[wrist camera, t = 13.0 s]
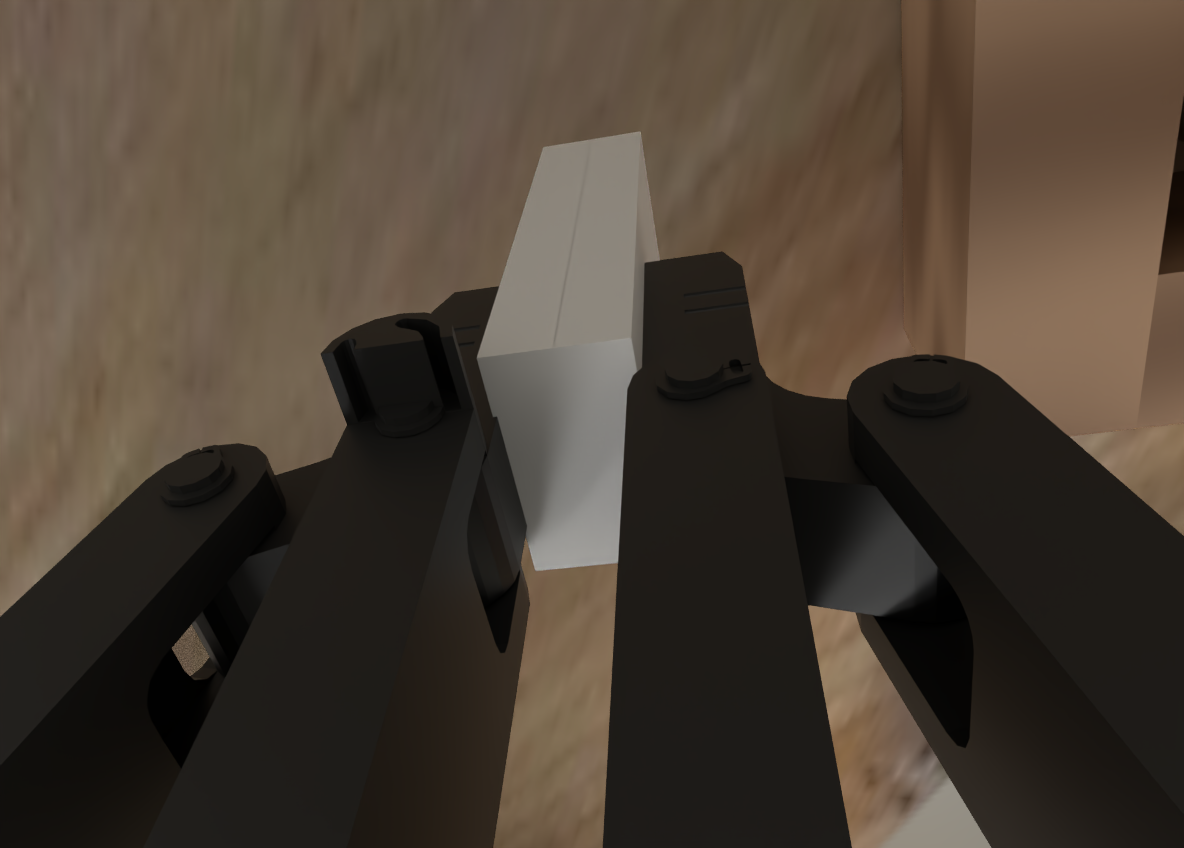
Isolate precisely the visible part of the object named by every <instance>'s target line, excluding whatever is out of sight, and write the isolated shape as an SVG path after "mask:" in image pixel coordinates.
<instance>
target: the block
mask: <svg viewBox="0 0 1184 848" xmlns="http://www.w3.org/2000/svg"><path fill="white" fill-rule="evenodd" d="M901 26H902V160H903V294H904V330H905V332H906V334H907V336H908V338H909V340H910V342H911V344H912V347H913V349H914V351H915V353H916V355H921V354H930V355H932V356H934V354H936V355H946V356H951V357H955V358H959V359H963V360H967V361H971V362H975V363H978V364H980V365H981V366H983V367H985V368H987V369H988V370H990V371H992V372H994V373H995V374H997V375H999V376H1000V377H1001V378H1002V379H1003V380H1004V381H1005V382H1007V383H1008V384H1009V385H1010V386H1011V387H1012V388H1013V389H1015V390H1016V391H1017V392H1018V393H1019V394H1020V395H1022V396H1023V397H1024V398H1025V399H1026V400H1027V401H1028V402H1030V403H1031V404H1032V405H1033V406H1034V407H1035V408H1037V409H1038V410H1039V411H1040V412H1041V413H1042V414H1043V415H1045V416H1046V417H1047V418H1048V419H1049V420H1050V421H1052V422H1053V423H1054V424H1055V425H1056V426H1057V427H1058V428H1060V429H1061V430H1062V431H1063V432H1064V433H1065V434H1067V435H1068V436H1077V435H1085V434H1094V433H1103V432H1112V431H1121V430H1129V429H1138V428H1147V427H1156V426H1165V425H1173V424H1182V423H1184V142H1182V141H1180V140H1179V139H1178V132H1179V125H1180V118H1181V111H1182V104H1183V97H1184V0H901Z"/></svg>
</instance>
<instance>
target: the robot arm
mask: <svg viewBox="0 0 1184 848" xmlns="http://www.w3.org/2000/svg"><path fill="white" fill-rule="evenodd" d="M321 356H322V359H323V362H324V364H325V367H326V370H327V372H328V375H329V378H330V380H331V383H332V386H333V388H334V391H335V394H336V396H337V399H338V402H339V404H340V407H341V410H342V412H343V415H344V418H345V420H346V423H347V426H346V428H345V431H344V433H343V435H342V437H341V439H340V441H339V443H338V445H337V447H336V449H335V451H334V453H333V455H332V457H331V458H329V459H326V460H323V461H320V462H318V463H314V464H311V465H308V466H305V467H301V468H298V469H295V470H292V471H288V472H285V473H282V474H279V475H274V473H273V470H272V468H271V466H270V463H269V461H268V459H267V457H266V455H265V454H264V453H263V452H261V451H260V450H259V449H258V448H257V447H254V446H249V445H244V444H239V443H238V444H228V445H213V446H208V447H204V448H203V449H202V450H200V449H197V450H194V451H191V452H188V453H186V454H185V455H183V456H182V457H181V458H180V459H178V460H176V461H174V462H172V463H170V464H168V465H166V466H164V467H163V468H162V469H160V470H159V471H158V472H156V473H155V474H154V475H152V476H151V477H150V478H148V479H147V480H146V481H145V482H144V483H142V484H141V485H140V486H139V487H138V488H137V489H136V490H135V491H134V492H133V493H132V494H131V495H130V496H129V497H128V498H126V499H125V500H124V501H123V502H122V503H121V504H120V505H119V506H118V507H117V508H116V509H115V510H114V511H113V512H112V513H110V514H109V515H108V516H107V517H106V518H105V519H104V520H103V521H102V522H101V523H100V524H99V525H98V526H97V527H96V528H95V529H93V530H92V531H91V532H90V533H89V534H88V535H87V536H86V537H85V538H84V539H83V540H82V541H81V542H80V543H79V544H77V545H76V546H75V547H74V548H73V549H72V550H71V551H70V552H69V553H68V554H67V555H66V556H65V557H64V558H63V559H62V560H60V561H59V562H58V563H57V564H56V565H55V566H54V567H53V568H52V569H51V570H50V571H49V572H48V573H47V574H46V575H44V576H43V577H42V578H41V579H40V580H39V581H38V582H37V583H36V584H35V585H34V586H33V587H32V588H31V589H30V590H28V591H27V592H26V593H25V594H24V595H23V596H22V597H21V598H20V599H19V600H18V601H17V602H16V603H15V604H14V605H13V606H11V607H10V608H9V609H8V610H7V611H6V612H5V613H4V614H3V615H2V616H1V617H0V848H493V844H494V838H495V831H496V824H497V818H498V811H499V805H500V798H501V791H502V785H503V778H504V772H505V765H506V758H507V752H508V745H509V739H510V732H511V725H512V719H513V712H514V705H515V699H516V692H517V686H518V679H519V672H520V666H521V659H522V653H523V646H524V639H525V633H526V626H527V619H528V613H529V606H530V601H529V594H528V588H527V584H526V581H525V577H524V574H523V570H522V567H521V559H522V553H523V547H524V541H525V536H526V539H527V542H528V546H529V549H530V553H531V557H532V560H533V564H534V568H535V571H540V570H551V569H561V568H571V567H581V566H591V565H602V564H612V563H618V572H617V591H616V610H615V629H614V647H613V666H612V685H611V704H610V722H609V741H608V760H607V779H606V798H605V816H604V835H603V848H852V846H851V840H850V835H849V829H848V824H847V818H846V813H845V807H844V802H843V796H842V791H841V785H840V780H839V774H838V769H837V763H836V758H835V752H834V747H833V741H832V736H831V730H830V725H829V719H828V714H827V708H826V703H825V698H824V692H823V687H822V681H821V676H820V670H819V665H818V659H817V654H816V648H815V643H814V637H813V632H812V626H811V621H810V615H809V610H808V605H812V606H818V607H824V608H831V609H837V610H844V611H850V612H856V615H857V619H858V622H859V625H860V629H861V632H862V633H863V635H864V637H865V638H866V640H867V642H868V643H869V645H870V647H871V648H872V650H873V652H874V653H875V655H876V657H877V658H878V660H879V662H880V663H881V665H882V667H883V668H884V670H885V671H886V673H887V675H888V676H889V678H890V680H891V681H892V683H893V685H894V686H895V688H896V690H897V691H898V693H899V695H900V696H901V698H902V700H903V701H904V703H905V705H906V706H907V708H908V710H909V711H910V713H911V715H912V716H913V718H914V720H915V721H916V723H917V725H918V726H919V728H920V730H921V731H922V733H923V735H924V736H925V738H926V740H927V741H928V743H929V745H930V746H931V748H932V750H933V751H934V753H935V755H936V756H937V758H938V760H939V761H940V763H941V765H942V766H943V768H944V769H945V771H946V773H947V774H948V776H949V778H950V779H951V781H952V783H953V784H954V786H955V788H956V789H957V791H958V793H959V794H960V796H961V798H962V799H963V801H964V803H965V804H966V806H967V808H968V809H969V811H970V813H971V814H972V816H973V818H974V819H975V821H976V823H977V824H978V826H979V827H980V829H981V831H982V833H983V834H984V836H985V837H986V839H987V841H988V843H989V844H990V846H991V847H992V848H1184V536H1183V535H1182V534H1181V533H1180V532H1178V531H1177V530H1176V529H1175V528H1174V527H1173V526H1171V525H1170V524H1169V523H1168V522H1167V521H1166V520H1165V519H1163V518H1162V517H1161V516H1160V515H1159V514H1158V513H1157V512H1155V511H1154V510H1153V509H1152V508H1151V507H1150V506H1148V505H1147V504H1146V503H1145V502H1144V501H1143V500H1142V499H1140V498H1139V497H1138V496H1137V495H1136V494H1135V493H1133V492H1132V491H1131V490H1130V489H1129V488H1128V487H1127V486H1125V485H1124V484H1123V483H1122V482H1121V481H1120V480H1118V479H1117V478H1116V477H1115V476H1114V475H1113V474H1112V473H1110V472H1109V471H1108V470H1107V469H1106V468H1105V467H1103V466H1102V465H1101V464H1100V463H1099V462H1098V461H1097V460H1095V459H1094V458H1093V457H1092V456H1091V455H1090V454H1088V453H1087V452H1086V451H1085V450H1084V449H1083V448H1082V447H1080V446H1079V445H1078V444H1077V443H1076V442H1075V441H1073V440H1072V439H1071V438H1070V437H1069V436H1068V435H1067V434H1065V433H1064V432H1063V431H1062V430H1061V429H1060V428H1058V427H1057V426H1056V425H1055V424H1054V423H1053V422H1052V421H1050V420H1049V419H1048V418H1047V417H1046V416H1045V415H1043V414H1042V413H1041V412H1040V411H1039V410H1038V409H1037V408H1035V407H1034V406H1033V405H1032V404H1031V403H1030V402H1028V401H1027V400H1026V399H1025V398H1024V397H1023V396H1022V395H1020V394H1019V393H1018V392H1017V391H1016V390H1015V389H1013V388H1012V387H1011V386H1010V385H1009V384H1008V383H1007V382H1005V381H1004V380H1003V379H1002V378H1001V377H1000V376H999V375H997V374H995V373H994V372H992V371H990V370H988V369H987V368H985V367H983V366H981V365H980V364H978V363H975V362H971V361H967V360H963V359H959V358H955V357H951V356H946V355H936V354H934V356H932V355H930V354H921V355H913V356H910V357H903V358H896V359H891V360H888V361H886V362H883V363H881V364H878V365H875V366H873V367H870V368H868V369H867V370H865V371H864V372H863V373H862V374H861V375H859V376H858V377H857V378H856V379H854V380H853V381H852V383H851V386H850V389H849V392H848V394H847V400H844V399H828V398H820V397H812V396H805V395H802V394H798V393H795V392H792V391H788V390H786V389H784V388H782V387H780V386H778V385H776V384H775V383H773V382H772V381H771V380H770V379H769V378H768V377H767V376H766V374H765V371H764V369H763V368H762V366H761V365H760V363H759V358H758V352H757V347H756V341H755V336H754V330H753V325H752V319H751V314H750V308H749V303H748V297H747V291H746V286H745V280H744V275H743V269H742V266H741V265H740V264H738V263H737V262H736V261H734V260H733V259H732V258H730V257H729V256H728V255H726V254H725V253H724V252H716V253H709V254H702V255H695V256H688V257H681V258H674V259H667V260H660V258H659V251H658V244H657V238H656V231H655V224H654V218H653V211H652V204H651V198H650V191H649V184H648V178H647V171H646V164H645V158H644V151H643V145H642V138H641V131H640V132H634V133H627V134H621V135H615V136H609V137H603V138H597V139H590V140H584V141H578V142H572V143H566V144H559V145H553V146H547V147H543V150H542V153H541V156H540V159H539V162H538V166H537V169H536V172H535V175H534V178H533V181H532V185H531V188H530V191H529V194H528V197H527V200H526V204H525V207H524V210H523V213H522V216H521V219H520V223H519V226H518V229H517V232H516V235H515V238H514V242H513V245H512V248H511V251H510V254H509V257H508V261H507V264H506V267H505V270H504V273H503V276H502V280H501V283H500V286H498V287H490V288H483V289H476V290H469V291H462V292H455V293H454V294H452V295H451V296H450V297H449V298H448V299H447V300H446V301H444V302H443V303H442V304H441V305H440V306H439V307H438V308H436V309H435V310H434V311H433V312H432V313H431V314H429V313H404V314H397V315H393V316H388V317H384V318H380V319H376V320H373V321H370V322H368V323H365V324H363V325H360V326H358V327H355V328H353V329H351V330H349V331H348V332H346V333H345V334H343V335H341V336H340V337H338V338H336V339H335V340H333V341H332V342H331V343H330V344H329V345H328V346H327V348H326V349H325V350H324V351H323V352H322V353H321ZM191 624H192V625H193V627H194V629H195V631H196V633H197V635H198V636H199V638H200V640H201V642H202V644H203V645H204V647H205V649H206V651H207V653H208V655H209V656H210V658H209V659H208V660H207V661H206V663H205V664H204V665H203V666H202V668H200V669H199V670H198V671H197V672H195V673H194V674H193V675H192V676H189V675H188V674H187V673H186V672H185V671H184V669H183V668H182V666H181V664H180V662H179V661H178V659H177V657H176V655H175V654H174V652H173V650H172V649H171V648H172V647H173V646H174V644H175V643H176V642H177V641H178V640H179V638H180V637H181V636H182V635H183V634H184V633H185V631H186V630H187V629H188V628H189V627H190V625H191Z"/></svg>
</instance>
